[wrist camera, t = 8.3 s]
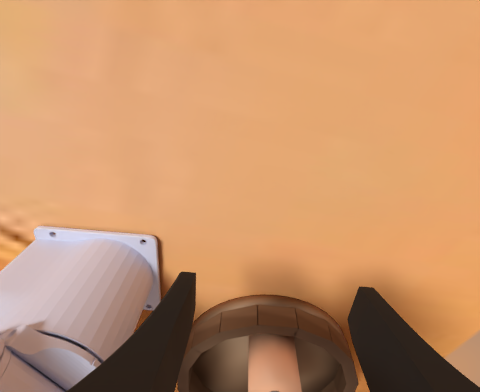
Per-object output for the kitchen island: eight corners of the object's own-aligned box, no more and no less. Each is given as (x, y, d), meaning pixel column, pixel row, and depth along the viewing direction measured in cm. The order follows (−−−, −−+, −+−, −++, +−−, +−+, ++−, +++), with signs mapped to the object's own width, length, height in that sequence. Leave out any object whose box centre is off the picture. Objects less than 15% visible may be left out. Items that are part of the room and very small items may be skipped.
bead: (246, 347, 27) (245, 407, 23) (251, 317, 25) (251, 376, 21) (288, 352, 27) (296, 412, 23) (297, 322, 26) (307, 382, 21)
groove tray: (185, 393, 33) (178, 425, 30) (183, 287, 26) (175, 317, 23) (326, 404, 33) (333, 438, 30) (366, 302, 26) (380, 334, 23)
